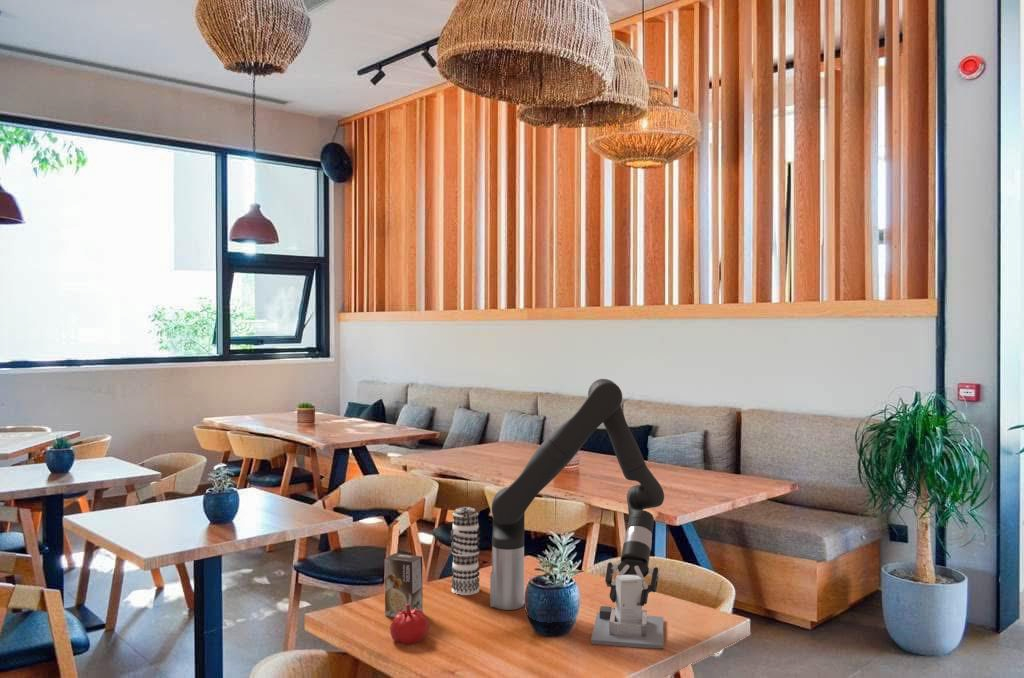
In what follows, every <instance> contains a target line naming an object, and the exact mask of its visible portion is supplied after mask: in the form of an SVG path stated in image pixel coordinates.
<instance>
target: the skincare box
mask: <svg viewBox="0 0 1024 678" xmlns="http://www.w3.org/2000/svg"><path fill="white" fill-rule="evenodd" d="M617 575H618V574H617ZM617 575H616V576H615V578H616V601H615V607H614V608H615V620H616V622H624V623H638V624H641V623H642V610H643V606H641V604H640V600H641V594H642V590H643V588H642V579H641V578H640V577H639V576H638V575H618V576H617Z"/></svg>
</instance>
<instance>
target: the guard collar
mask: <svg viewBox="0 0 1024 678" xmlns="http://www.w3.org/2000/svg"><path fill="white" fill-rule="evenodd" d="M647 616H648V610H646V609H642V624H638V623H624V622H616V620H615V607H612V610H611V616H610V621H609V635H619V636H633V637H646V631H647Z"/></svg>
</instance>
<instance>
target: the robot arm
mask: <svg viewBox="0 0 1024 678" xmlns="http://www.w3.org/2000/svg"><path fill="white" fill-rule="evenodd" d="M587 393H588V394H587V398H586V399H585V401H584V402H583V403H582V404H581V406H580V407H579V409H578V410H576V412H575V413H574V414H573V415H572V416H571V417H570V418H568V419H567V420H566V421H564V422H563V423H561V425H559V426H557V428H555V429H554V430H553V431H552V432H551V433H550V434H549V435H548V436H547V438H546V439H544V441H543V442H542V443H541V444H540V445H539V447H537V449H536V451H535V452H534V453H533V455H532V456H531V457H530V459H529V461H528V463H527V464H526V466H525V467H524V468H523V471H522V472H521V473H520V474H519V475H518V477H517V478H516V479H515V480H514V481H513V482H512V483H511V484H510V485H509V486H508V487H505V488H502V489H500V490H499V491H497V492H496V493H495V495H494V497H493V500H492V503H491V514H492V531H491V532H492V533H491V534H492V535H491V562H492V563H491V572H490V576H489V577H490V578H489V579H490V580H489V582H490V584H489V585H490V589H489V590H490V592H489V593H490V594H489V595H490V596H489V597H490V598H489V599H490V601H489V602H490V603H489V605H490V608H495V609H498V610H505V611H509V610H510V611H511V610H518V609H521V608H522V607H524V605H525V517H526V516H525V515H526V514H525V512H526V511H527V509H528V508H529V507H530V505H531V504H532V502H533V501H535V498H536V497H537V496H538V494H539V493H540V492H541V491H542V490H543V489H544V488H545V487H547V485H549V484H550V483H551V482H552V481H553V480H554V479H555V478H556V477H557V476H558V475H559V473H561V472H562V471H563V470H564V469H565V467H567V465H568V464H569V463H570V462H571V461H572V459H573V458H575V456H576V454H577V453H578V452H579V451H580V450H581V449H582V447H583V446H584V445H585V443H586V442H587V440H588V439H589V438H590V437H591V435H592V434H593V433H594V432H595V431H596V430H597V429H598V428H599V427H601V425H602V424H603V425H604V428H605V430H606V432H607V434H608V437H609V440H610V442H611V445H612V448H613V451H614V454H615V457H616V459H617V461H618V462H617V463H618V465H619V467H620V469H621V472H622V474H623V476H624V478H625V479H626V480H627V481H631V482H633V481H634V482H638V483H639V484H637V485H633V486H631V487H630V488H629V489H628V490H627V494H626V500H627V501H626V502H627V511H628V522H627V528H626V532H625V534H624V538H623V539H624V540H623V544H622V550H621V554H620V555H621V557H620V561H619V563H618V564H613V563H612V562H611V561H609V562H608V563H607V567H606V574H605V580H604V581H605V585H606V586H607V588H610V592H609V599H610V601H611V603H614V604H616V577H615V578H614V579H613V576H614V574H615V573H616V571H617V570H618V574H617V575H616V576H618V575H638V576H639V577H640V578H641V579H642V594H641V600H640V604H641V606H642V607H645V605H647V604H648V599H649V598H648V597H649V594H650V593H656V592H657V588H658V583H659V579H660V578H659V577H660V570H659V567H654V568H651V567H649V562H650V556H651V550H652V543H653V540H652V539H653V538H652V537H653V530H654V525H655V517H654V515H653V514H652V513H651V512H650V511H648V509H652V508H657V507H660V506H662V505H663V503H664V501H665V492H664V490H663V487H662V485H661V484H660V482H658V479H656V477H655V476H654V474H653V473H652V472H651V470H650V469H649V467H648V466H647V464H646V461H645V459H644V457H643V454H642V452H641V450H640V448H639V445H638V443H637V441H636V439H635V436H634V435H633V433H632V431H631V429H630V427H629V425H628V423H627V420H626V418H625V414H624V413H623V409H622V402H623V393H622V390H621V388H620V387H619V385H618V384H616V383H615V382H614V381H612V380H610V379H608V378H607V379H606V378H599V379H596V380H594V381H593V382H592V383H591V385H590V386H589V388H588V391H587ZM648 574H650V577H651V582H650V584H649V585H648V583H647V582H646V580H645V578H646V576H647V575H648Z"/></svg>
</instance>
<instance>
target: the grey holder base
mask: <svg viewBox="0 0 1024 678" xmlns="http://www.w3.org/2000/svg"><path fill="white" fill-rule="evenodd" d="M612 608H613V607H612V606H605V605H601V606H600V609H599V612H596V616H595V621H594V625H593V629H592V634H591V639H590V644H591V645H602V646H603V645H604V646H614V647H617V646H618V647H629V648H644V649H654V648H663V649H664V616H657V615H655V616H654V615H647V631H646V637H633V636H619V635H609V621H610V616H611V610H612ZM641 624H642V623H641Z"/></svg>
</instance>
